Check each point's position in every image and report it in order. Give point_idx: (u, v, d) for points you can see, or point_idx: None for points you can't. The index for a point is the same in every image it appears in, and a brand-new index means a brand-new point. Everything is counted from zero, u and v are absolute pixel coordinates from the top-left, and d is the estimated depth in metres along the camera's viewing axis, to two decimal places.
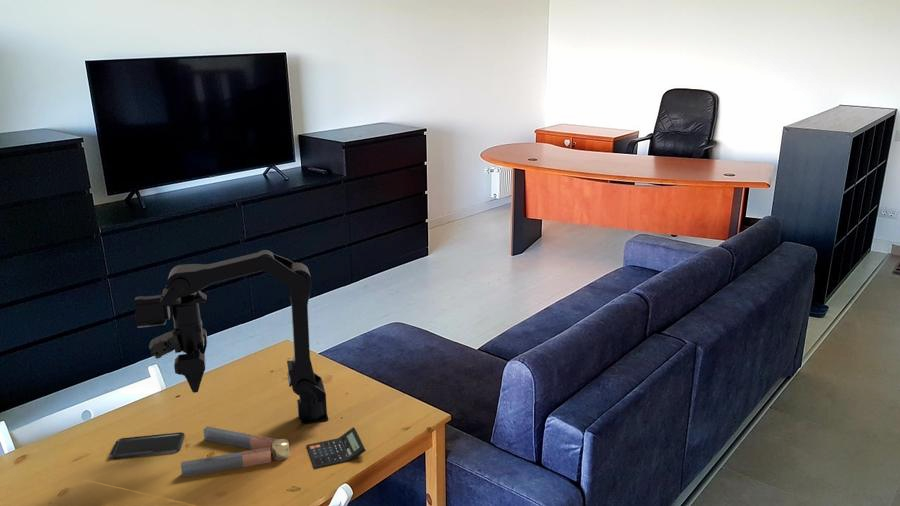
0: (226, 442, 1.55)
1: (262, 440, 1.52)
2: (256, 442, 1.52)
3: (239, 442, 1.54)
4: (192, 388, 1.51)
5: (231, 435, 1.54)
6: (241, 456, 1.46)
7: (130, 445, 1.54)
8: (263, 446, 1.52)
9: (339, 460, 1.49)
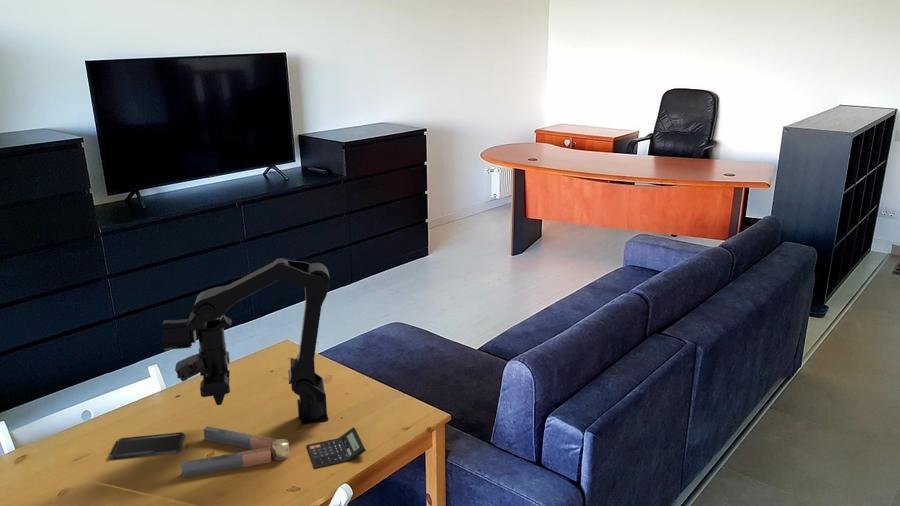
0: (226, 442, 1.55)
1: (262, 440, 1.52)
2: (256, 442, 1.52)
3: (239, 442, 1.54)
4: (216, 401, 1.59)
5: (231, 435, 1.54)
6: (241, 456, 1.46)
7: (130, 445, 1.54)
8: (263, 446, 1.52)
9: (339, 460, 1.49)
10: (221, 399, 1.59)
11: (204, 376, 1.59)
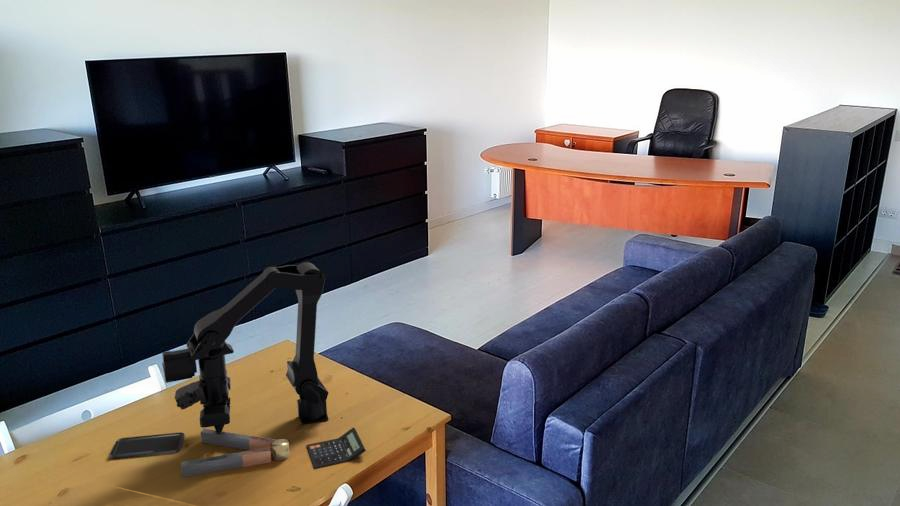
0: (224, 444, 1.54)
1: (261, 441, 1.52)
2: (255, 443, 1.52)
3: (237, 444, 1.53)
4: (216, 429, 1.56)
5: (230, 436, 1.53)
6: (241, 456, 1.46)
7: (130, 445, 1.54)
8: (262, 446, 1.52)
9: (339, 460, 1.49)
10: (221, 427, 1.56)
11: (204, 404, 1.55)
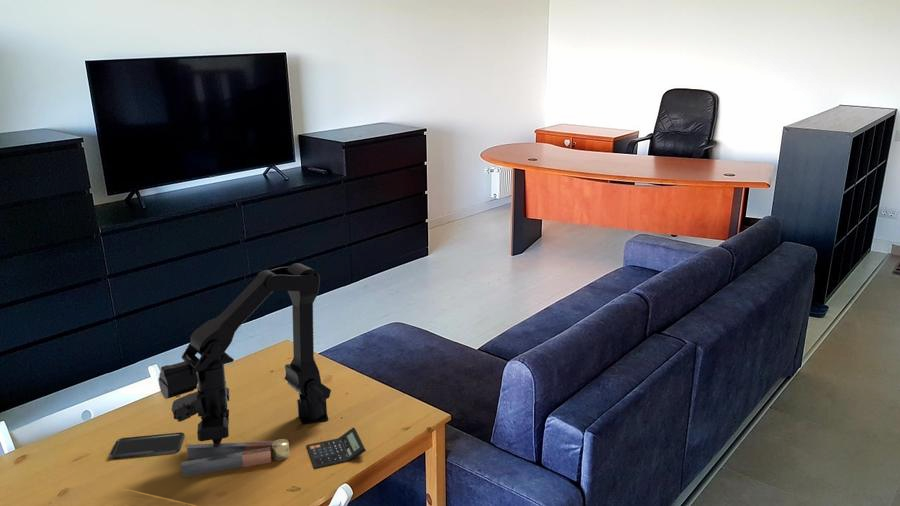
0: None
1: (258, 445, 1.50)
2: (252, 448, 1.50)
3: (231, 452, 1.50)
4: (214, 442, 1.50)
5: (222, 447, 1.49)
6: (241, 456, 1.46)
7: (130, 445, 1.54)
8: None
9: (339, 460, 1.49)
10: (219, 440, 1.51)
11: (202, 415, 1.50)
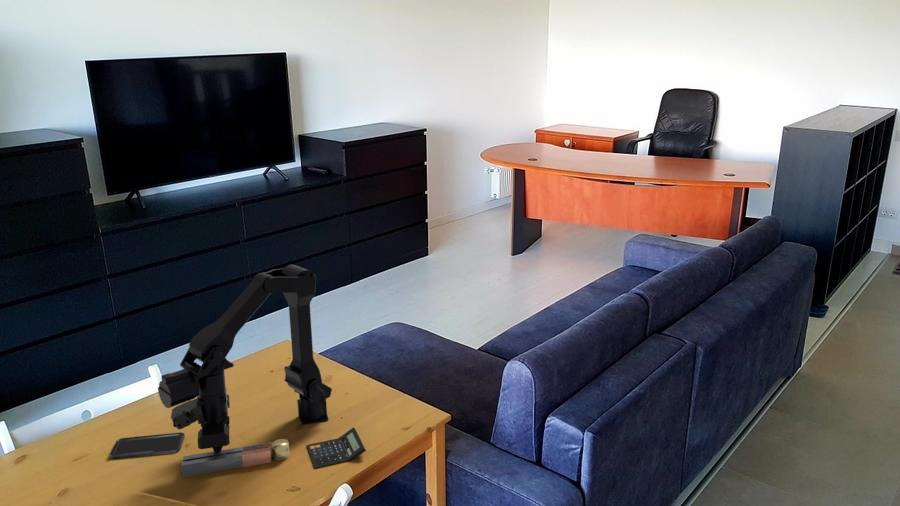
0: None
1: (257, 447, 1.49)
2: None
3: None
4: (214, 449, 1.48)
5: (220, 454, 1.47)
6: (241, 456, 1.46)
7: (130, 446, 1.54)
8: None
9: (339, 460, 1.49)
10: (220, 448, 1.48)
11: None
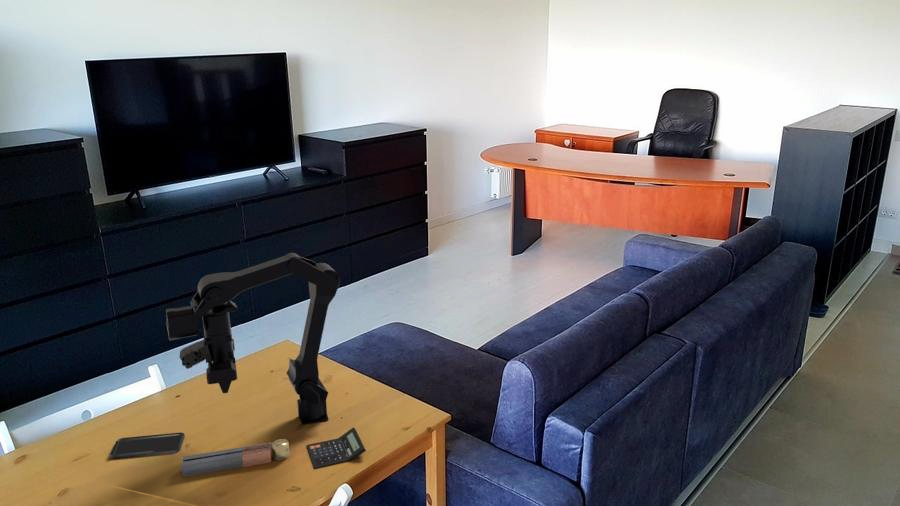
0: None
1: (257, 447, 1.49)
2: None
3: None
4: (222, 389, 1.54)
5: (220, 454, 1.47)
6: (241, 456, 1.46)
7: (130, 445, 1.54)
8: None
9: (339, 460, 1.49)
10: (227, 387, 1.54)
11: (209, 363, 1.54)
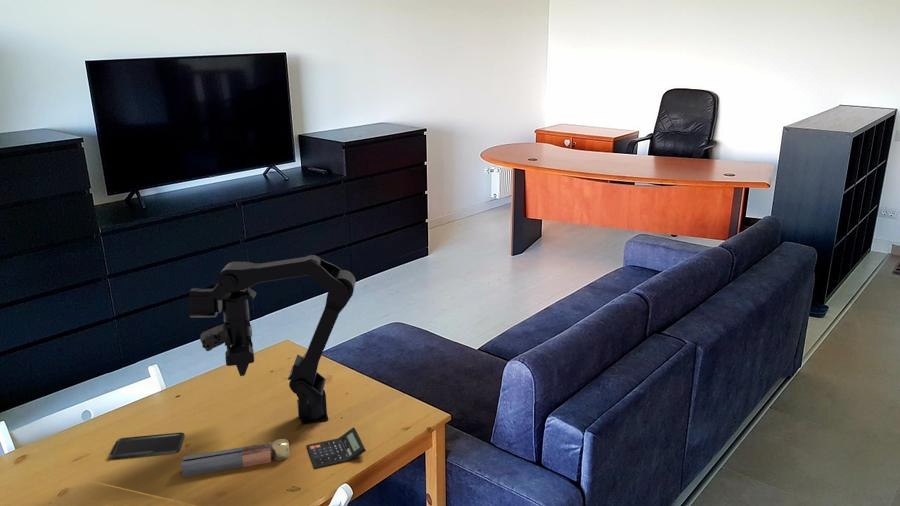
0: None
1: (257, 447, 1.49)
2: None
3: None
4: (240, 372, 1.61)
5: (220, 454, 1.47)
6: (241, 456, 1.46)
7: (130, 445, 1.54)
8: None
9: (339, 460, 1.49)
10: (244, 370, 1.61)
11: (228, 347, 1.61)
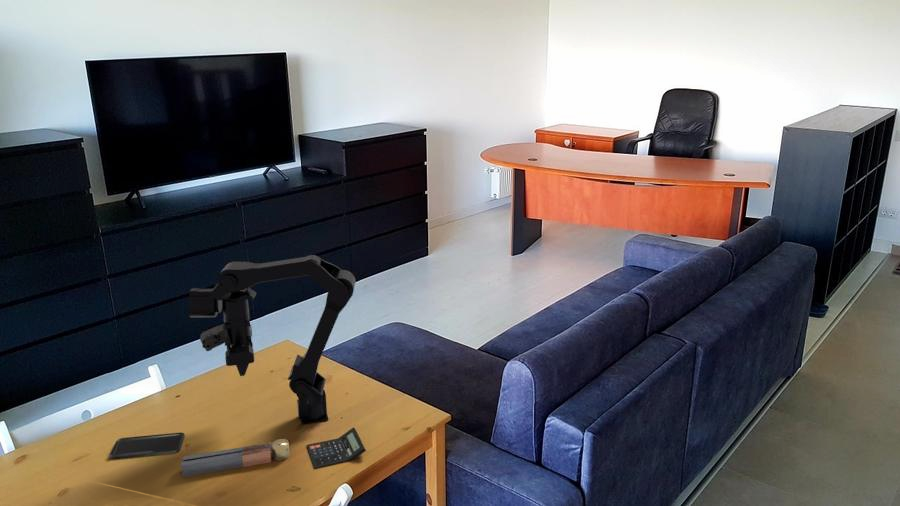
0: None
1: (257, 447, 1.49)
2: None
3: None
4: (240, 372, 1.61)
5: (220, 454, 1.47)
6: (241, 456, 1.46)
7: (130, 445, 1.54)
8: None
9: (339, 460, 1.49)
10: (244, 370, 1.61)
11: (228, 347, 1.61)
